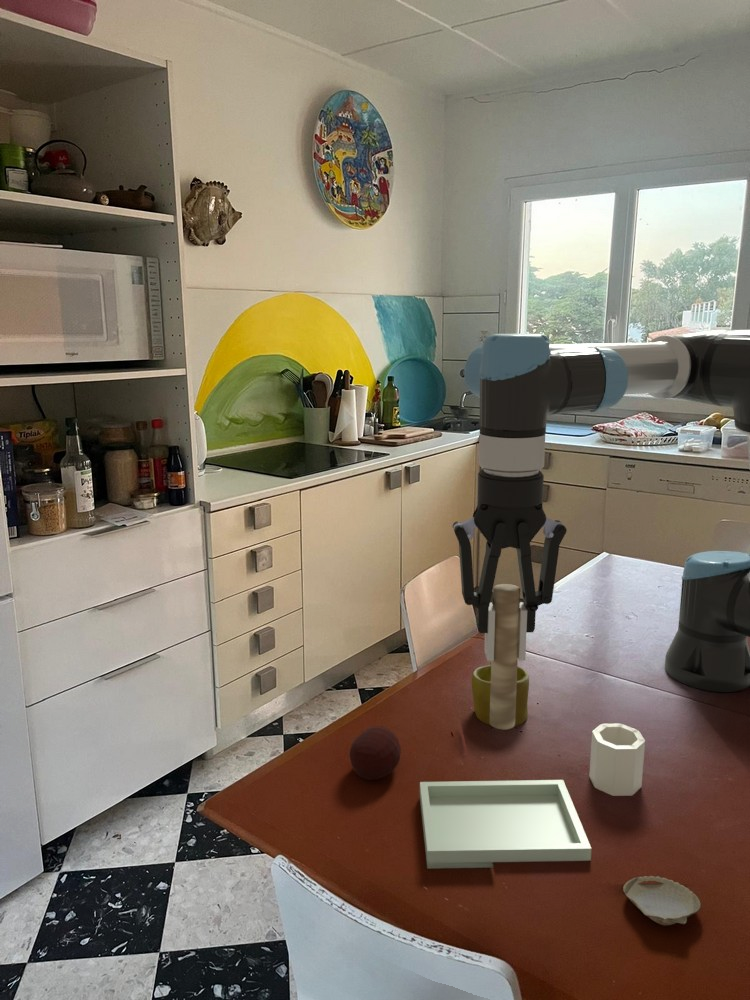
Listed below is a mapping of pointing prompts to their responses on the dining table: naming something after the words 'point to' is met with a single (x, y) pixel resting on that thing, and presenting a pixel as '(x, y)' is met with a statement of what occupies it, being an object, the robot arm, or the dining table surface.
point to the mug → (482, 694)
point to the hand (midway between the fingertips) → (504, 655)
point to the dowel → (505, 656)
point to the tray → (500, 823)
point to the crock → (617, 759)
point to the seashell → (662, 899)
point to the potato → (375, 753)
